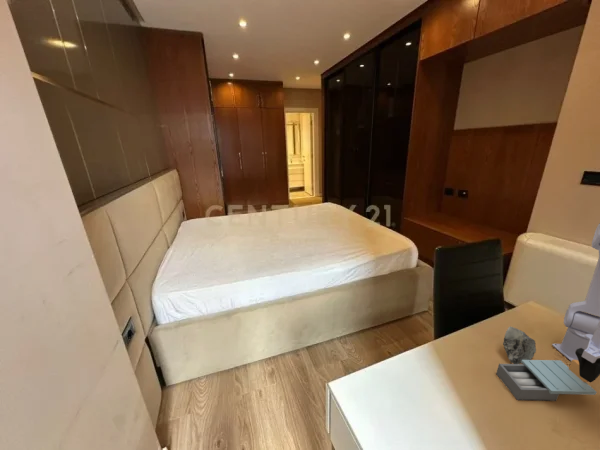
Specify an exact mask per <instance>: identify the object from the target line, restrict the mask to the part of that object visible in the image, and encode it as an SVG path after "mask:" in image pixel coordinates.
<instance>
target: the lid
mask: <svg viewBox="0 0 600 450" xmlns="http://www.w3.org/2000/svg"><path fill="white" fill-rule="evenodd" d="M520 364H524V365H525V366H526V367H527V368H528V369H529V370H530V371H531V372H532V373H533V374H534V375H535V376H536V377H537V378H538V380H539V381H540V382H541V383H542V384H543V385H544V386H545V387H546V388H547V389H548V390H549V393H550V394H559V395H585V396H586V395H594V396H595V395H596V394H597V390H595V389H594V388H593V387H592V386H591V385H589V384H588V383H589V382H588V381H587V380H585V379H584V378H582V377H581V376H580V374H579V361H578V360H572V362H571V361H570V363H569V364H570V365H569V366H568V365H567V364H566V363H564V362H563V360H559V359H558V360H557V359H555V360H554V359H531V360H521V363H520Z"/></svg>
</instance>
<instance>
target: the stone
mask: <svg viewBox="0 0 600 450" xmlns="http://www.w3.org/2000/svg"><path fill="white" fill-rule="evenodd" d="M502 345H503V348H504V351H505V353H506V355H507V358H508V360H509V361H510V364H522V363H521V360H533V358H534V357H535V354H536V351H537V349H536V345H537V344H536V340H535V339H533V338H531V337H530V336H529V335H528V334H526V333H525V332H524V331H523V330H521V329H518V328H516V327H514V326H511V325H510V326H508V328H507V329H506V331H505V334H504V338H503V342H502Z"/></svg>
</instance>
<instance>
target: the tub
mask: <svg viewBox="0 0 600 450" xmlns="http://www.w3.org/2000/svg"><path fill="white" fill-rule="evenodd" d="M495 374H496V376H497V377H498V378H499V380H501V382H502V383H503V385H504V386H505V387H506V388H507V390H508V391H509V393H511V394H512V396H513V397H514V398H515V399H516V401H524V402H525V401H529V402H532V401H534V402H557V399H558V398H559V396H560V394H550V393H549V390H548V389H547V388H546V387H545V386H544V385H543V384H542V383H541V382H540V381H539V380H538V378H537V377H536V376H535V375H534V374H533V373H532V372H531V371H530V370H529V369H528V368H527V367H526V366H525V365H524V364H522V363H519V364H513V363H498V367H497V370H496V373H495Z"/></svg>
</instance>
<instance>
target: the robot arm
mask: <svg viewBox="0 0 600 450" xmlns="http://www.w3.org/2000/svg"><path fill="white" fill-rule="evenodd" d="M591 248H593V249H595V250H597V251H598V260H597V262H596V266H595V269H594V271H593V274H592V277H591V281H590V284H589V287H588V289H587V293H586V296H585V300H583V301H577V302H576V301H575V302H572V303H570V304H569V305H568V307H567V308H568V309H566V311H565V314H564V317H563V325H564V327H566V331H565V333H564V336H563V339H562V341H561V343H552V344H551V345H552V346H553V347H554V349H556V350H557V351H559V352H560V353H561V354H562V355H563V356H564V357H565V358H567V359H568V360H569V361H570V363H571V362H572V360H578V361H579V374H580V376H581V377H582V378H584V379H585V380H587V381H588V382H587V383H589V384H590V383H593V382H594V381H596V380H597V379H598V377H599V376H600V223H598V224H597V226H596V229H595V231H594V235H593V238H592V240H591Z"/></svg>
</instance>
